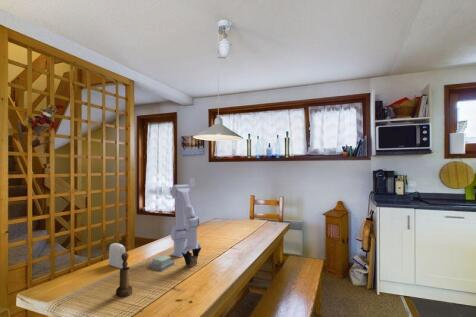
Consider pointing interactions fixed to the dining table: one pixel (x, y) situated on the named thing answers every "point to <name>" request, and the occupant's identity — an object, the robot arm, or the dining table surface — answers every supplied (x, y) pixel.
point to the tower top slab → (161, 260)
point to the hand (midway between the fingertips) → (191, 262)
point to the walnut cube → (193, 261)
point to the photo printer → (116, 255)
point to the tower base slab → (159, 267)
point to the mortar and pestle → (124, 279)
